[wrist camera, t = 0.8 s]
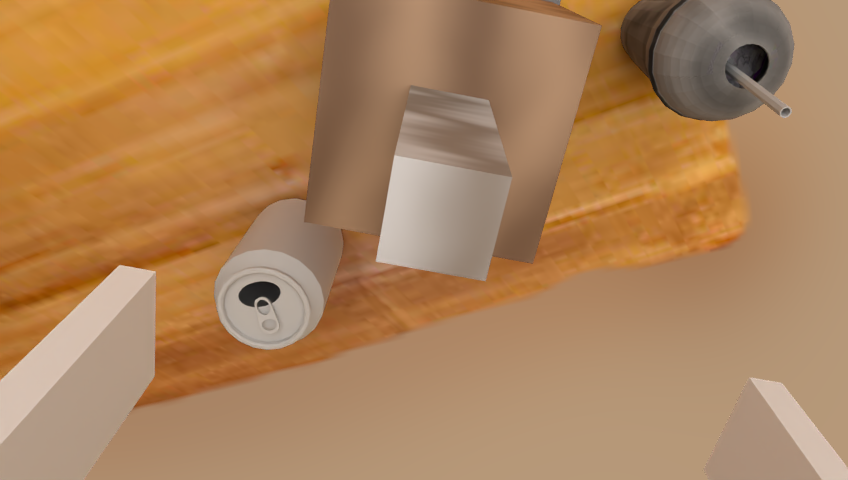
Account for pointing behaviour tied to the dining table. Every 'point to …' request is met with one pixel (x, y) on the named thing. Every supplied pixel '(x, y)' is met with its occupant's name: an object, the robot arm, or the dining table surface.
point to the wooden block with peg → (446, 126)
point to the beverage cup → (711, 54)
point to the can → (278, 277)
